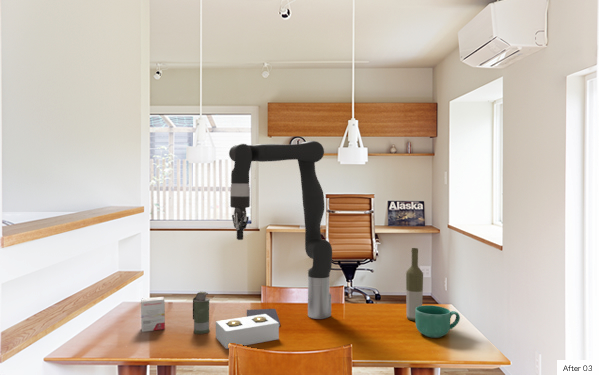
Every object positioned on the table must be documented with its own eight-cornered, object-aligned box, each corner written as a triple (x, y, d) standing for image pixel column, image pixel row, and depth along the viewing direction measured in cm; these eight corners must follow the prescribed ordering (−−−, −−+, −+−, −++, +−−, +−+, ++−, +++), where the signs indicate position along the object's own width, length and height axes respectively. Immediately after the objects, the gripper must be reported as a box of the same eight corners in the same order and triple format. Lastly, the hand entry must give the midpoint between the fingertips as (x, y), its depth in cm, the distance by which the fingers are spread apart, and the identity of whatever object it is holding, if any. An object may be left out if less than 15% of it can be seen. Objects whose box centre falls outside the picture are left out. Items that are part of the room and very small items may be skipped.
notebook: (246, 313, 188) (248, 329, 167) (246, 309, 188) (248, 325, 167) (275, 312, 190) (280, 328, 169) (275, 308, 190) (280, 324, 169)
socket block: (265, 329, 166) (265, 313, 166) (278, 339, 156) (278, 322, 156) (215, 337, 157) (215, 321, 157) (226, 348, 146) (226, 331, 146)
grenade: (212, 329, 165) (212, 291, 165) (204, 334, 160) (204, 295, 159) (198, 327, 167) (198, 289, 167) (189, 332, 162) (189, 293, 161)
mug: (419, 340, 156) (419, 314, 156) (412, 328, 168) (412, 304, 168) (465, 341, 155) (465, 315, 155) (455, 329, 167) (455, 305, 167)
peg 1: (237, 336, 157) (238, 319, 157) (242, 340, 153) (242, 323, 153) (225, 338, 155) (226, 321, 155) (230, 343, 151) (230, 325, 151)
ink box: (164, 325, 169) (164, 296, 169) (165, 329, 165) (165, 299, 165) (141, 328, 166) (141, 298, 166) (141, 332, 162) (141, 301, 162)
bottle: (425, 321, 177) (426, 249, 176) (408, 322, 176) (409, 249, 176) (419, 316, 184) (419, 247, 183) (403, 316, 183) (404, 247, 183)
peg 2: (262, 332, 162) (263, 315, 162) (267, 336, 158) (267, 319, 158) (251, 334, 160) (251, 317, 160) (256, 338, 155) (256, 321, 155)
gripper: (255, 195, 162) (255, 241, 162) (243, 194, 174) (243, 237, 174) (236, 195, 158) (236, 242, 159) (225, 194, 170) (225, 238, 170)
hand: (239, 239), depth 166 cm, fingers closed
